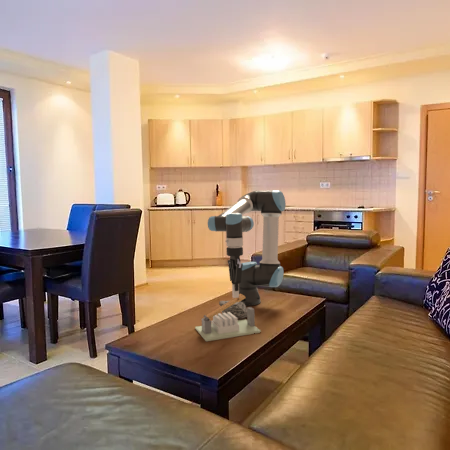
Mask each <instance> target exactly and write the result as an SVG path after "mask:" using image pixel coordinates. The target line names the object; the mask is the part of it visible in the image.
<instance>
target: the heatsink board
mask: <svg viewBox="0 0 450 450" xmlns="http://www.w3.org/2000/svg"><path fill="white" fill-rule="evenodd" d="M246 308H247V317H246V318H247V319H246V318H243V319H238V318H237V317H235V316H234V315H233V314H232V313H230V312H227V314H226V313H223V315H222V313H221V312H220V313H218V314H216V315H215V316H213V317H212V320H211V318H210V319H209V320H208V321H207V320H206V319H205V318H204V317H203V318H201V325H198V326H195V327H194V328H195V330H196V331H197V332H198V334H199V335H200V336H201V338H203V340H204V341H205V342H212V341H218V340H224V339H231V338H234V337H235V338H236V337H243V336H247V335H252V334H253V335H254V333H255V334H259V333H260V332H262V330H261V329H259V328H258V327H257V326H256V325H255V323H256V322H255V321H256V320H255V317H256V315H255V308H253V307H252V306H246Z"/></svg>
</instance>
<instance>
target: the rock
mask: <svg viewBox="0 0 450 450" xmlns="http://www.w3.org/2000/svg"><path fill="white" fill-rule="evenodd" d="M229 301H230V300H220V301H218V303H219V307H221V306H222V305H224V304H226V303H227V302H229ZM227 312H230V313H232V314H233V315H234V316H235V317H237V318H238V320H244V319H246V318H247V306H245V304H244V303H243V302H241V301H240V302H236V303H235V304H233V305H231V306H230V307H228V308H226V309H225V310H223V311H221V314H222V315H223V313H226V314H227Z"/></svg>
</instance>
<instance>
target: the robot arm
mask: <svg viewBox="0 0 450 450" xmlns="http://www.w3.org/2000/svg"><path fill="white" fill-rule="evenodd" d="M286 203H287V202H286V199H285V194H284V193H283V191H281V190H280V189H279V190H278V189H277V190H275V189H272V190H270V189H269V190H268V189H267V190H254V191H251V192H248V193H246V194H244V195H242V196H241V197H239V198H238V199H237V202H236V203H235V202H234V204H232V206H229V208H226V209H225V210H224V211H223V212H222V213H220V214H219V215H214V216H210V217H208V220H207V228H208V230H209V231H211V232H223V233H224V232H225V234H226V235H225V236H226V237H225V238H226V240H225V244H226V255H227V256H228V257H229V259H228V260H227V265H228V273H229V274H228V275H229V280H230V282H231V288H232V289H231V290H232V291H231V292H232V293H231V294H232V299H234V298H239V294H242V295H244V296H245V297H246V298H245V299H243V300H241V302H243V303H244V304H245V306H246V307H252V306H255V305H260V303H261V296H260V293H259V289H258V286H259V287H269V288H278V287H279V286H281V284H282V282H283V278H284V267H283V266H281V262H280V261H279V260H278V259H279V258H278V256H279V255H278V254H279V225H280V224H279V223H280V222H279V221H280V219H279V218H280V216H282V212H284V211H286V206H287V205H286ZM250 212H260V215H262V217H263V219H262V220H263V221H262V223H263V225H262V257H261V258H262V259H261V260H260V261H259V263H257V261H246V262H241V256H243V254H244V248H243V245H244V241H243V240H244V237H243V233H248V232H249V231H251V230H253V228H254V225H255V223H254V219H253V218H252V217H250V216H249V215H245V214H249V213H250Z"/></svg>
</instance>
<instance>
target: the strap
mask: <svg viewBox="0 0 450 450" xmlns="http://www.w3.org/2000/svg"><path fill="white" fill-rule="evenodd" d="M245 298H246V297H245V296H244V295H242V294H239V298H232V299H231V300H228V301H229V302H227V303H226V304H224V305H222V306H219V307H218V308H216V309H214V310H212V311H211V312H209V313H207V314H204V315H203V318H205V319H206V320H207V321H208V320H209V319H210V320H211V318H213V316H215V315H218V314H219V313H220V314H221V313H222V311H223V310H225V309H226V308H228V307H230V306H231V305H233V304H235V303H236V302H240V301H241V300H243V299H245Z"/></svg>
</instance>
